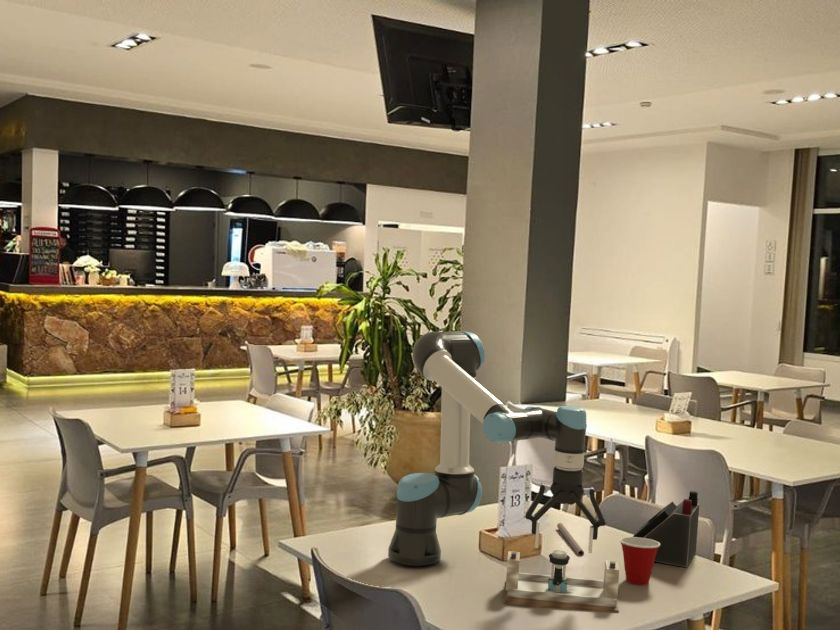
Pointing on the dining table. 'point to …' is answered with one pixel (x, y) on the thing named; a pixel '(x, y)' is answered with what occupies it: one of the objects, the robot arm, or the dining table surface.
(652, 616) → the dining table surface
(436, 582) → the dining table surface
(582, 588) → the board
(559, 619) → the dining table surface
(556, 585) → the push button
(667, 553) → the dark desk organizer
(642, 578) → the plastic cup
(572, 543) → the metal rod
